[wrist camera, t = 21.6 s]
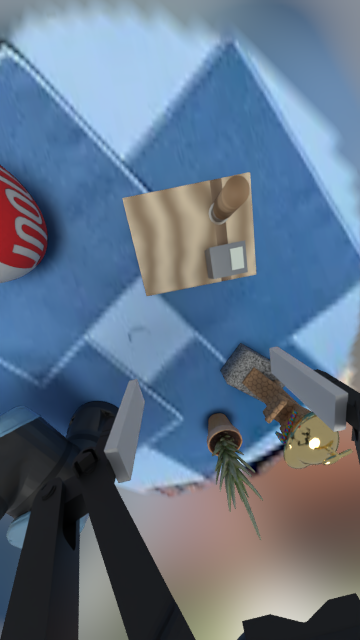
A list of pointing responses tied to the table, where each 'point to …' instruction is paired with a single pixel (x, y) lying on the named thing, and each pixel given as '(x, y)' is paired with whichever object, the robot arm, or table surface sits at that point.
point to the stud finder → (226, 260)
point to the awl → (230, 198)
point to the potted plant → (229, 459)
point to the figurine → (283, 411)
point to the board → (185, 234)
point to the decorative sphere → (19, 229)
